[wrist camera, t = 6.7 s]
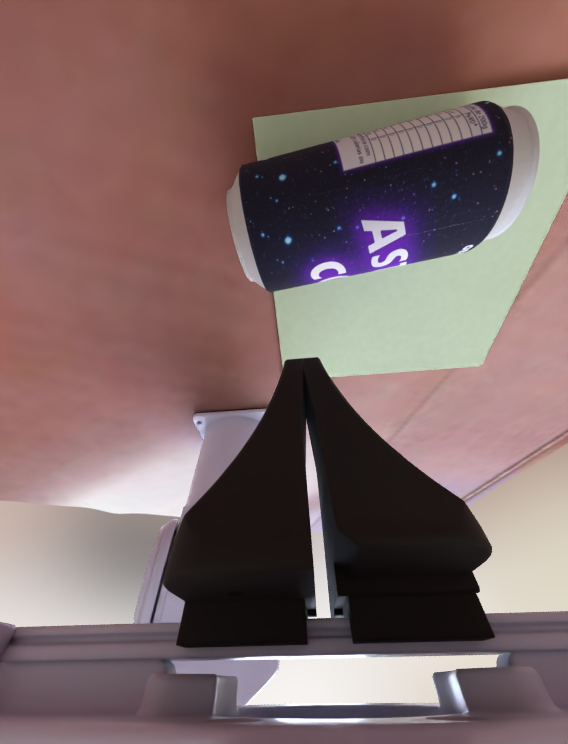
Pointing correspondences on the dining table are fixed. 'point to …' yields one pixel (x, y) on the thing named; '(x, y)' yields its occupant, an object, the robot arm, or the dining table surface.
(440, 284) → the mat
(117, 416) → the dining table surface
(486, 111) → the beverage can
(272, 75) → the dining table surface
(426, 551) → the robot arm
